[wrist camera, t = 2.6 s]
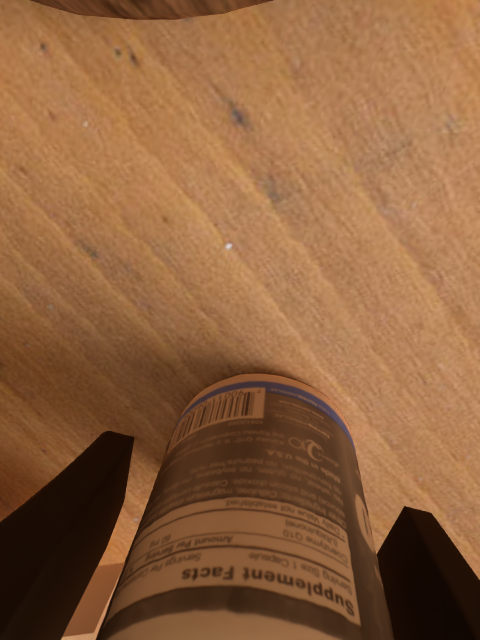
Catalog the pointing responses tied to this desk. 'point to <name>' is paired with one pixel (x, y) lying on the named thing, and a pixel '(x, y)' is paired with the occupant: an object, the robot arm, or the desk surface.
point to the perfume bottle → (93, 604)
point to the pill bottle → (254, 526)
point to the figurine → (149, 7)
